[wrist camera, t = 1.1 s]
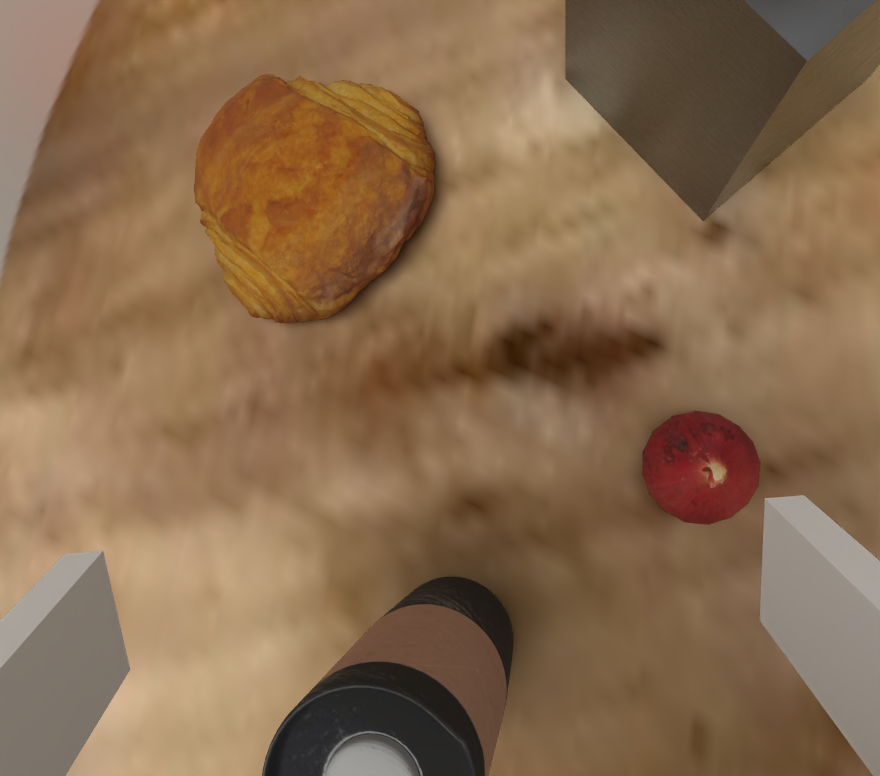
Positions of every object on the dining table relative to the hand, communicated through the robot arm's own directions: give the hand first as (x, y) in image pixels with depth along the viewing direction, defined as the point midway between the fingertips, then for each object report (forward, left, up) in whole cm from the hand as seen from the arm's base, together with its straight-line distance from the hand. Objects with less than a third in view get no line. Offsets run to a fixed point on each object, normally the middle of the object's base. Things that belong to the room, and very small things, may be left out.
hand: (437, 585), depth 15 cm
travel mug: (-4, +9, -30) cm, 32 cm away
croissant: (+22, -2, -30) cm, 37 cm away
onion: (-5, -8, -30) cm, 32 cm away
